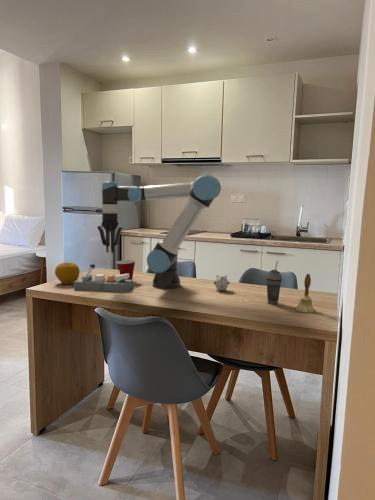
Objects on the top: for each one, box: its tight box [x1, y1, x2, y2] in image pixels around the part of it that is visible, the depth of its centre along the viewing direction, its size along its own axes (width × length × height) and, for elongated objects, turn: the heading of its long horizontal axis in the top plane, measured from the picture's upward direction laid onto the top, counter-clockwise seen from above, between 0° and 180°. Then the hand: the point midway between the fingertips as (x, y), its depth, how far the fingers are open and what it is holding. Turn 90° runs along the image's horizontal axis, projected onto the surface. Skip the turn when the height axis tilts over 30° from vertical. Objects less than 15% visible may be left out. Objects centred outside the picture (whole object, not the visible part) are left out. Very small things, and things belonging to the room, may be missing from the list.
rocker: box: [115, 273, 130, 281], centre depth 187 cm, size 6×4×2 cm, turn 83°
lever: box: [85, 263, 96, 280], centre depth 189 cm, size 3×5×9 cm, turn 173°
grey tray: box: [73, 273, 133, 293], centre depth 188 cm, size 28×10×6 cm, turn 83°
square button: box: [94, 273, 106, 282], centre depth 188 cm, size 4×4×4 cm
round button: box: [106, 274, 115, 282], centre depth 188 cm, size 4×4×4 cm
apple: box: [54, 262, 80, 285], centre depth 198 cm, size 13×13×11 cm
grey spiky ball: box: [213, 274, 231, 292], centre depth 187 cm, size 9×8×10 cm
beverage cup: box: [265, 260, 283, 306], centre depth 165 cm, size 7×7×20 cm
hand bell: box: [295, 273, 316, 314], centre depth 156 cm, size 8×8×16 cm
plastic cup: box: [116, 259, 136, 280], centre depth 204 cm, size 11×11×12 cm
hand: (110, 258), depth 186 cm, fingers closed
